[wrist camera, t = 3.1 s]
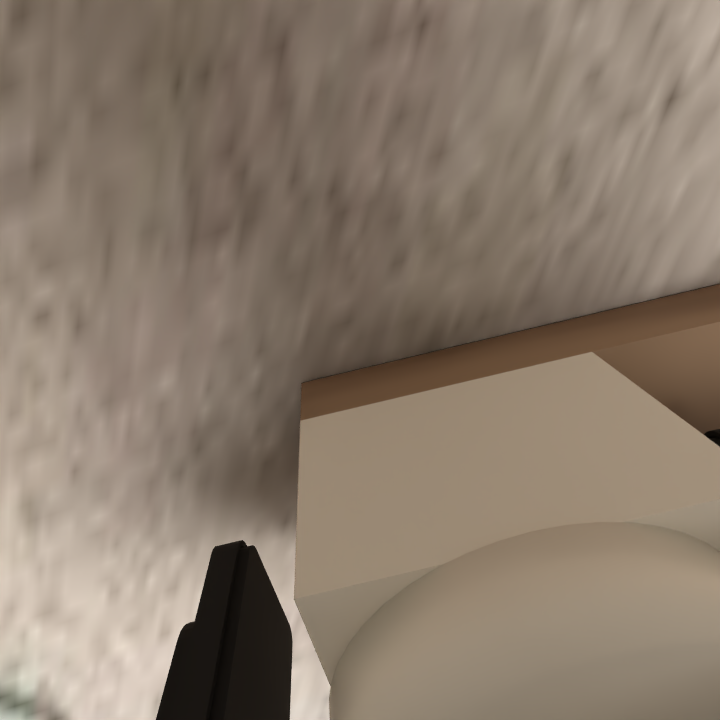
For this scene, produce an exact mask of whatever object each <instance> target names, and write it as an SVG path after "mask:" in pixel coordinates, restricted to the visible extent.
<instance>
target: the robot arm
mask: <svg viewBox="0 0 720 720" xmlns="http://www.w3.org/2000/svg"><path fill="white" fill-rule="evenodd" d="M704 436H706V437H707V438H709V439H710V440H711V441H713V442H714V443H715V444H717V445H718V446H719V447H720V429H715V430H711V431H707V432H706V433H705V434H704ZM291 669H292V633H291V628H290V625H289V623H288V620H287V618H286V616H285V613H284V611H283V609H282V607H281V604H280V602H279V600H278V598H277V595H276V593H275V591H274V588H273V586H272V584H271V582H270V579H269V577H268V575H267V572H266V570H265V568H264V566H263V563H262V561H261V559H260V557H259V554H258V552H257V550H256V548H255V546H254V545H252V546H248V547H247V545H246V543H245V542H244V541H243V540H241V541H237V542H232V543H228V544H224V545H220V546H215V547H214V549H213V551H212V554H211V558H210V562H209V566H208V570H207V574H206V578H205V582H204V586H203V590H202V594H201V599H200V603H199V607H198V611H197V615H196V619H195V622H190V623H188V624H186V625H185V626H184V627H183V628H182V630H181V632H180V635H179V637H178V640H177V644H176V647H175V651H174V655H173V658H172V662H171V666H170V670H169V673H168V677H167V681H166V684H165V688H164V692H163V695H162V699H161V703H160V706H159V710H158V714H157V717H156V720H290V695H291Z"/></svg>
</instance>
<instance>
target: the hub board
mask: <svg viewBox="0 0 720 720" xmlns="http://www.w3.org/2000/svg"><path fill="white" fill-rule="evenodd" d="M589 352H593V353H594V354H596V355H597V356H598V357H600V358H601V359H602V360H604V361H605V362H606V363H608V364H609V365H610V366H612V367H613V368H614V369H616V370H617V371H619V372H620V373H621V374H623V375H624V376H625V377H627V378H628V379H629V380H631V381H632V382H633V383H635V384H636V385H637V386H639V387H640V388H641V389H643V390H644V391H645V392H647V393H648V394H649V395H651V396H652V397H653V398H655V399H656V400H657V401H659V402H660V403H662V404H663V405H664V406H666V407H667V408H668V409H670V410H671V411H672V412H674V413H675V414H676V415H678V416H679V417H680V418H682V419H683V420H684V421H686V422H687V423H688V424H690V425H691V426H692V427H694V428H695V429H696V430H698V431H699V432H700V433H702V434H703V435H704V434H705V433H706V432H707V431H711V430H715V429H720V284H718V285H714V286H710V287H705V288H701V289H697V290H693V291H688V292H684V293H680V294H676V295H672V296H667V297H663V298H659V299H655V300H650V301H646V302H642V303H638V304H633V305H629V306H625V307H621V308H617V309H612V310H608V311H604V312H600V313H595V314H591V315H587V316H583V317H579V318H574V319H570V320H566V321H562V322H557V323H553V324H549V325H545V326H541V327H536V328H532V329H528V330H524V331H519V332H515V333H511V334H507V335H502V336H498V337H494V338H490V339H486V340H481V341H477V342H473V343H469V344H464V345H460V346H456V347H452V348H448V349H443V350H439V351H435V352H431V353H426V354H422V355H418V356H414V357H410V358H405V359H401V360H397V361H393V362H388V363H384V364H380V365H376V366H372V367H367V368H363V369H359V370H355V371H350V372H346V373H342V374H338V375H333V376H329V377H325V378H321V379H317V380H312V381H308V382H304V383H302V387H301V415H300V421H301V420H305V419H309V418H314V417H318V416H322V415H326V414H331V413H335V412H339V411H343V410H348V409H352V408H356V407H360V406H364V405H369V404H373V403H377V402H381V401H386V400H390V399H394V398H398V397H403V396H407V395H411V394H415V393H419V392H424V391H428V390H432V389H436V388H441V387H445V386H449V385H453V384H458V383H462V382H466V381H470V380H474V379H479V378H483V377H487V376H491V375H496V374H500V373H504V372H508V371H513V370H517V369H521V368H525V367H530V366H534V365H538V364H542V363H546V362H551V361H555V360H559V359H563V358H568V357H572V356H576V355H580V354H585V353H589Z"/></svg>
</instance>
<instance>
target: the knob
mask: <svg viewBox="0 0 720 720" xmlns="http://www.w3.org/2000/svg"><path fill="white" fill-rule="evenodd" d="M294 600H295V603H296V605H297V607H298V610H299V612H300V614H301V617H302V619H303V622H304V624H305V626H306V629H307V631H308V634H309V636H310V638H311V641H312V643H313V645H314V648H315V650H316V653H317V655H318V657H319V660H320V662H321V664H322V667H323V669H324V672H325V674H326V676H327V679H328V681H329V684H330V686H331V689H330V696H329V711H330V720H720V447H719V446H718V445H717V444H715V443H714V442H713V441H711V440H710V439H709V438H707V437H706V436H704V435H703V434H702V433H700V432H699V431H698V430H696V429H695V428H694V427H692V426H691V425H690V424H688V423H687V422H686V421H684V420H683V419H682V418H680V417H679V416H678V415H676V414H675V413H674V412H672V411H671V410H670V409H668V408H667V407H666V406H664V405H663V404H662V403H660V402H659V401H657V400H656V399H655V398H653V397H652V396H651V395H649V394H648V393H647V392H645V391H644V390H643V389H641V388H640V387H639V386H637V385H636V384H635V383H633V382H632V381H631V380H629V379H628V378H627V377H625V376H624V375H623V374H621V373H620V372H619V371H617V370H616V369H614V368H613V367H612V366H610V365H609V364H608V363H606V362H605V361H604V360H602V359H601V358H600V357H598V356H597V355H596V354H594V353H593V352H589V353H585V354H580V355H576V356H572V357H568V358H563V359H559V360H555V361H551V362H546V363H542V364H538V365H534V366H530V367H525V368H521V369H517V370H513V371H508V372H504V373H500V374H496V375H491V376H487V377H483V378H479V379H474V380H470V381H466V382H462V383H458V384H453V385H449V386H445V387H441V388H436V389H432V390H428V391H424V392H419V393H415V394H411V395H407V396H403V397H398V398H394V399H390V400H386V401H381V402H377V403H373V404H369V405H364V406H360V407H356V408H352V409H348V410H343V411H339V412H335V413H331V414H326V415H322V416H318V417H314V418H309V419H305V420H301V421H300V444H299V472H298V500H297V529H296V557H295V585H294Z"/></svg>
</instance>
